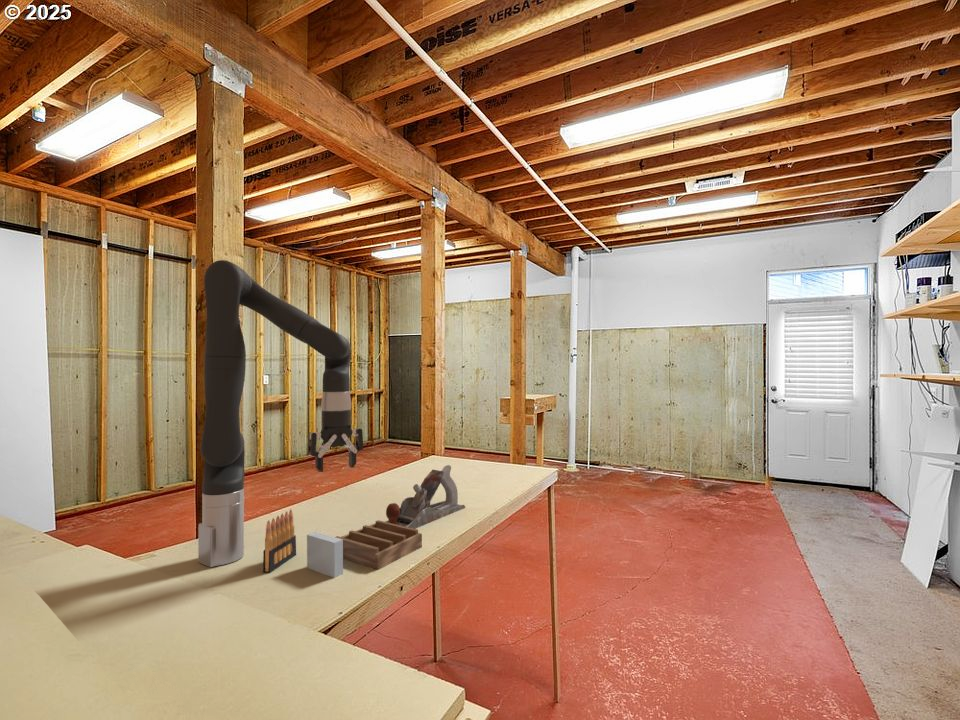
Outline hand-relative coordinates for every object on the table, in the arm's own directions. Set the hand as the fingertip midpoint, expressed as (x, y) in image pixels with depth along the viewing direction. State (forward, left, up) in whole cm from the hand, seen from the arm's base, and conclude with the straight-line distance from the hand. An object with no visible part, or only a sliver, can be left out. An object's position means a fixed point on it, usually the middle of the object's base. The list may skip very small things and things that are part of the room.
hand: (336, 469), depth 121 cm
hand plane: (+31, -4, -22) cm, 38 cm away
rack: (+5, -10, -21) cm, 24 cm away
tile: (-10, -8, -21) cm, 25 cm away
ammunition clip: (-13, +5, -21) cm, 26 cm away
